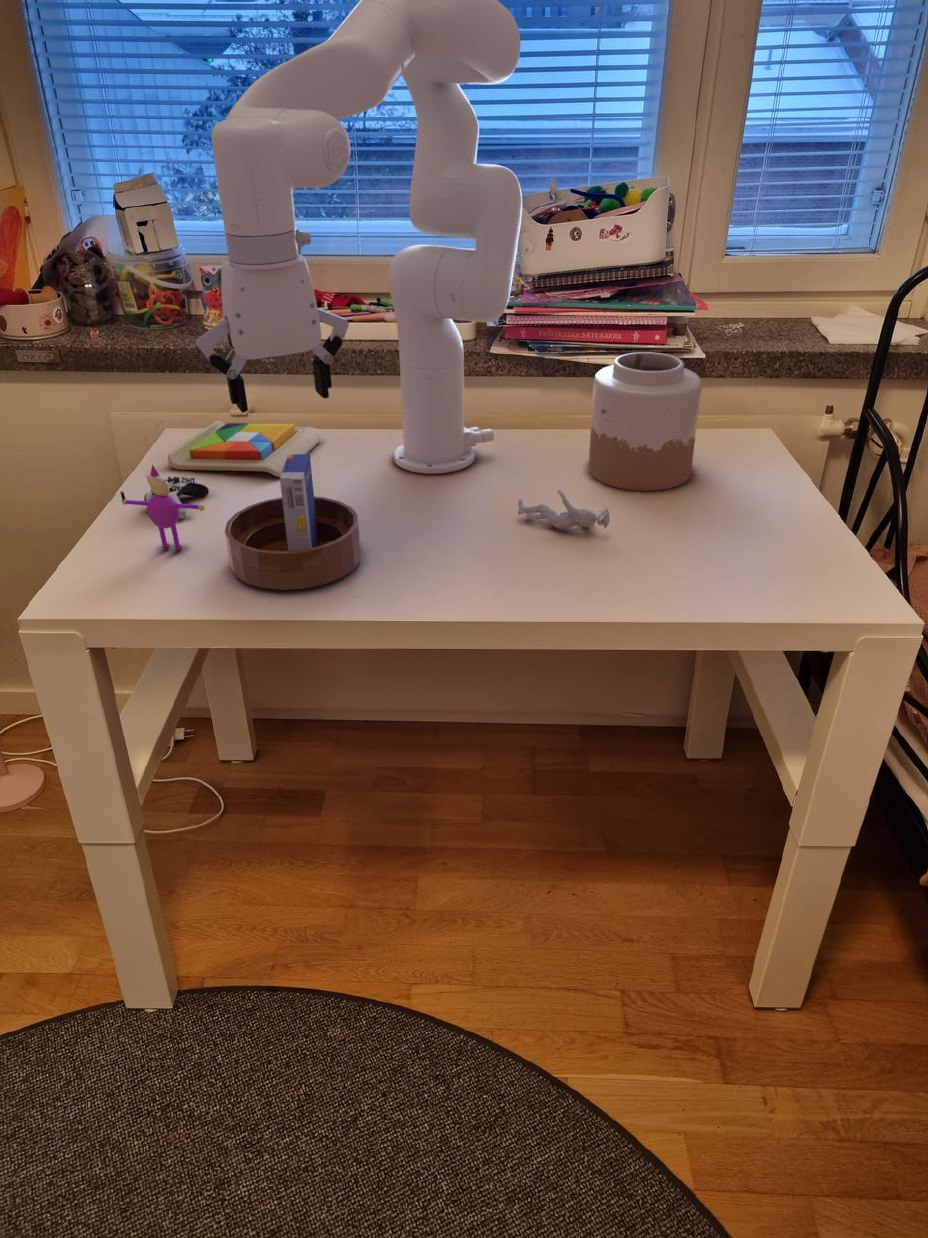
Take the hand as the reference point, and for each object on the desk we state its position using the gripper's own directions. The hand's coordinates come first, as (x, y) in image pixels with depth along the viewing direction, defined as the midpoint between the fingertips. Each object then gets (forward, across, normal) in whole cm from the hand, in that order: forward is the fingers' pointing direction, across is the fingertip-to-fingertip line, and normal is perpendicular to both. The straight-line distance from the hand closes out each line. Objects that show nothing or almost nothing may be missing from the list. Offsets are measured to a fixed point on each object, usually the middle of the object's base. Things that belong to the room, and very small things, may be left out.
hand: (282, 401), depth 113 cm
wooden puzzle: (+21, -2, -38) cm, 43 cm away
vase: (+22, -54, -4) cm, 58 cm away
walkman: (+20, 0, 0) cm, 20 cm away
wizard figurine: (+20, +15, -9) cm, 27 cm away
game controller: (+21, +12, -22) cm, 33 cm away
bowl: (+20, +1, +2) cm, 20 cm away
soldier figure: (+21, -34, +8) cm, 41 cm away
